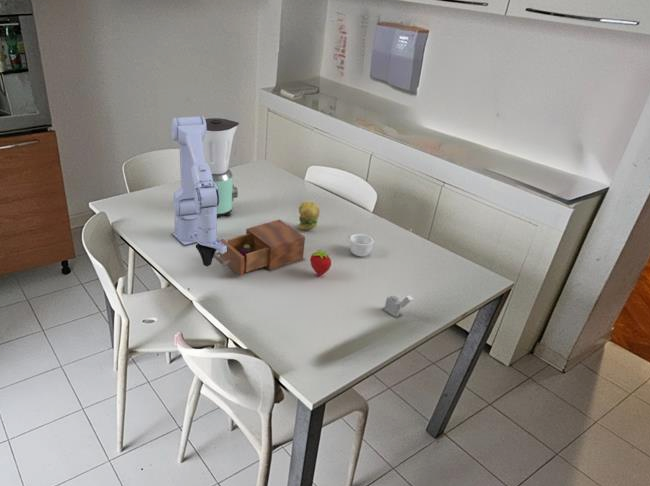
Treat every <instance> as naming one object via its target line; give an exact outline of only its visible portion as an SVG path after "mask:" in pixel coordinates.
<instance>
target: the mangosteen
mask: <svg viewBox="0 0 650 486" xmlns="http://www.w3.org/2000/svg"><path fill="white" fill-rule="evenodd" d="M251 252H253V250H252V248H251V247H250V246H249V245H244V247H242V248H241V250H240V253H241V254H242V255H243V256H244V261H245V256H246V254H248V253H251Z"/></svg>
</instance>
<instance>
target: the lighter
mask: <svg viewBox="0 0 650 486" xmlns="http://www.w3.org/2000/svg"><path fill="white" fill-rule="evenodd" d="M413 299H414V298H413V297H412V296H411V294H409V295H407V296H406V297H405V298H404V299H402V300H401V301H400V300H399V297H397V296H396V295H389V296H387V297H386V300H385V305H384V308H383V310H384V311H385V313H387V314H389V315H391V316H393V317H395V318H396V317H398V316H399V315H400V312H401V309H403V308H405V307H406V306H408V304H409V303H410V302H411V301H413Z"/></svg>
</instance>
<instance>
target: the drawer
mask: <svg viewBox="0 0 650 486" xmlns="http://www.w3.org/2000/svg"><path fill="white" fill-rule="evenodd" d="M219 240H220V241H221V242H222V243H223V244H224V245H226V246H227V252H225V253H223V254H221V253H220V251H216V252H215V254H214V256H213V259H215V260H216V261H217V262H218V264H220V265H221V266H223V267H225V266H228V267H229V268H230V269H232V270H233V272H235V273H236V274H237V275H238V276H240V277H243V276H245V273H248V272H252V271H254V270H258V269H260V268H265V266H267V265H268V264H269V249H270V248H268V247H267V246H266V245H264V244H263V243H262V242H260V241H259V240H258V239H256V238H255V237H254V236H252V235H251V234H250V233H248V234H246V233H245V234H241V235H238V236H234V237H231V238H227V240H225V239H224V238H221V239H219ZM244 245H249V246H250V247H251V248H252V250H253V252H251V253H248V254H246V256H245V261H244V256H243V255H242V254H241V253H240V250H241V248H242V247H244Z"/></svg>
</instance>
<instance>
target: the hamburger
mask: <svg viewBox="0 0 650 486" xmlns="http://www.w3.org/2000/svg"><path fill="white" fill-rule="evenodd" d="M320 211H321V210H320V207H319V205H317V203H315V201H314V202H312V201H304V202H302V203H301V204H300V205H299V206H298V213H299V217H298V218H299V220H298V221H299V224H297V227H298V229H300V230H304V231H305V230H306V231H307V230H308V231H309V230H312V229H314V228H316V227H317V226H318V220H319V216H320V213H321V212H320Z"/></svg>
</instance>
